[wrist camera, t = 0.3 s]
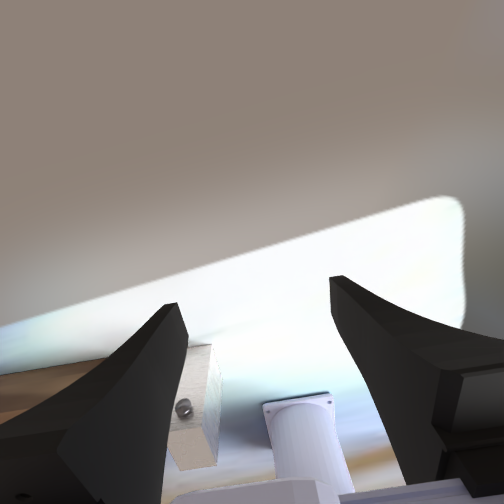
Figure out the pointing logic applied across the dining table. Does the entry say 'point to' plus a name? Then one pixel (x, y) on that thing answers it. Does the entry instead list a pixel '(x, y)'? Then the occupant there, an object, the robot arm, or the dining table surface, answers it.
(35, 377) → the slotted wooden frame
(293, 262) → the dining table surface
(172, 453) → the grey block with knob
